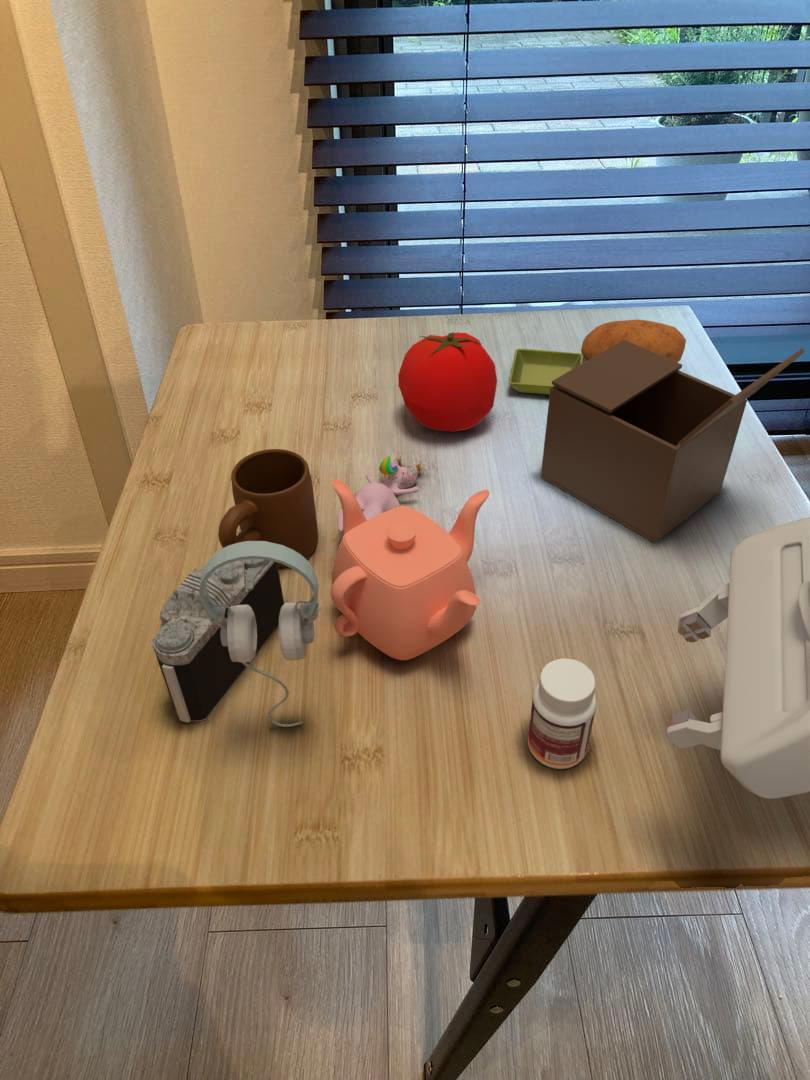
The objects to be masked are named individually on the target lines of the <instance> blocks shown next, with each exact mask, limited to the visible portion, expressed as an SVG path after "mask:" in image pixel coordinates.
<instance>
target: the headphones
mask: <svg viewBox="0 0 810 1080" xmlns="http://www.w3.org/2000/svg"><path fill="white" fill-rule="evenodd" d="M244 559H264V560H270V561H274V562H278V563H281V564H283V565H286V567H288V568H290V569H292V570H293V571H295V572H296V573H297V574H299V575H300V576H302V578H303V579H304V580H305V581H306V583H307V584H308V585H309V588H310V589H311V592H312V593H313V595H312V596H311V598H310V599H309V600H308V601H306V600H299V601H297V602H284V605H283V606H282V607H281V610H280V615H279V626H278V640H279V647H280V651H281V654H282V656H283V658H284V659H285V660H286V661H299V660H305V659H306V657H307V651H308V649H307V648H308V644H313V643H314V642H315V624H314V623H315V622H314V621H316V619H317V618H318V617H319V613H320V611H321V609H322V603H320V602H318V597H319V581H318V576H317V574H316V571H315V569H314V567H313V566H312V564H311V563H310V561H309V560H307V558H306V559H305V558H304V557H303V556H302V555H301V554H299V553H297V552H296V551H294V550H292V549H290V548H288V547H286V546H283V545H279V544H275V543H271V542H267V541H245V542H239V543H235V544H232V545H229V546H227V547H225V548H223V547H222V548H220V549H219V550H217V551H216V552H215V553H214V554H212V555H211V557H210V558H209V559H208V560H207V561H206V563H205V565H204V567H203V569H204V570H203V573H202V577H201V583H200V588H199V595H200V600H201V602H202V604H203V606H204V608H205V610H204V611H205V615H206V616H207V617H208V618H209V619H210V622H211V623H213V624H214V625H218V626H219V627H221V631H220V636H221V643H222V646H226V647H228V649H229V654H230V658H231V660H232V661H233V662H242V663H243V664H244V665H245V666H246V667H247V668H248V669H249V670H252V671H253V672H256V673H258V674H260V675H262V676H265V677H268V678H269V679H271V680H273V681H274V682H276V683H278V684H279V685H280V686H281V687H282V688H283V689H284V692H285V696H284V697H283V698H282V699H281V700H280V701H279V702H278V703H276V704H275V705H274V706H273V707H271V708H270V709H269V711H268V713H267V715H268V717H267V718H268V719H269V721H270V722H272V724H274V725H276V726H277V727H282V728H289V727H296V726H300V725H302V724H303V720H302V721H298V722H294V723H286V724H285V723H280V722H277V721H275V720H274V719H273V718H272V713H273V712H274V710H275V709H277V708H278V707H280V706H281V705H282V704H283V703H285V702H286V701H287V699H288V697H289V693H290V692H289V689H288V687H287V686H286V685H285V684H284V682H283V681H282V680H280V679H278V678H277V677H276V676H273V675H272V674H270V673H268V672H265V671H264V670H263V671H262V670H261V669H258V668H256V667H254V666H252V665H250V664H249V665H248V664H247V663H246V662H250V663H251V662H252V661H253V660H254V659H255V657H256V656H255V654H256V647H257V625H256V619H255V615H254V612H253V610H252V608H251V607H250V606H249V605H237V606H231V607H229V606H228V605H225V604H221V605H216V604H215V603H214V602H213V600H212V599H211V598H210V596H209V594H208V592H207V581H208V578H209V577H210V576H211V575H212V574H213V572H214V571H215V570H217V569H218V568H220V567H222V566H224V565H225V564H228V563H231V562H235V561H238V560H244ZM221 606H222V607H221ZM223 606H225V607H227V608H228V609H229V612H228V619H227V618H225V619H224V615H225V610H226V608H225V607H223ZM208 613H209V614H210V615H211V616H210V615H209V614H208ZM221 622H222V624H221ZM254 656H255V657H254ZM253 658H254V659H253Z"/></svg>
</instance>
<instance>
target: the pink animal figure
mask: <svg viewBox="0 0 810 1080" xmlns="http://www.w3.org/2000/svg"><path fill="white" fill-rule="evenodd" d="M401 457H402V454H400V455H399V457H398V458H397V457H396V458H394V459H393V462H391V455H388V456H386V457H384V458H383V460H382V461H381V462H380V464H379V468H378V469H379V472H380V473H381V474H382V475H383V476H384V481H383V482H378V481H376V480H374V479H373V477H372V475H371V473H367V474H365V478H366V480H367V481H368V483H367V484H365V485H363V486H362V487H361V488H360V489H359V490H357V491H356V492H355V494H354V496H355V498H356V499H357V501H358V504H359V506H360V508H361V510H362V512H363V514H364V516H365V518H366V520H369V519H371V518H373V517H375V516H377V515H379V514H381V513H384V512H386V511H388V510H391V509H393V508H396V507H399V506H401V504H400V502H399V500H398V499H397V497H396V496H398V495H407V494H412V493H417V492H419V491H420V488H419V487H418V486H414V485H415V484H416V482H417V480H418V475H421V473H422V474H424V471H423V467H422V464H421V461H422V460H421V459H420V460H419V462H418V463H415V464H414V465H413V466H412V467H408V466H404V465H403V461H402V458H401ZM336 523H337V524H336V525H337V531H338V532H343V511H342V506H341V507H340V509H339V510H338V512H337V519H336Z"/></svg>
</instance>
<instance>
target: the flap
mask: <svg viewBox="0 0 810 1080" xmlns="http://www.w3.org/2000/svg"><path fill="white" fill-rule="evenodd" d="M805 352H806V351H805V349H804V348H803V347H801V348H800V349H799V350H797V351H796V352H795V353H793V354H792V355H790V356H789V357H787V358H785V360H783V361H782V362H781V363H779V364H777V365H776V366H775V367H773V368H771V369H770V370H769V371H767V372H765V374H763V375H762V376H760V377H759V378H758V379H756V380H755V381H754V382H752V383H751V384H749V385H747V386H746V387H745V388H743V389H741V391H739V392H738V393H737V394H735V396H734V397H732V398H731V399H730V400H728V401H727V402H726V403H725V404H724V405H722V406H721V407H720V408H719V409H718V410H716V411H715V412H714V413H713V414H712V415H710V416H709V417H708V418H707V419H706V420H704V421H703V422H702V423H701V424H700V425H698V426H697V427H696V428H695V429H694V430H693V431H691V432H690V433H689V434H688V435H687V436H685V437H684V438H683V439H682V440H681V441H679V442H678V443H679V444H680V446H682V445H683V444H684V443H686V442H687V441H689V440H690V439H691V438H693V437H694V436H696V435H697V434H698V433H700V432H701V431H702V430H704V429H705V428H707V427H708V426H709V425H711V424H712V423H714V422H715V421H716V420H718V419H719V418H721V417H722V416H723V415H725V414H726V413H728V412H729V411H730V410H732V409H733V408H735V407H736V406H737V405H739V404H740V403H742V402H743V401H744V400H748V399H749V398H750V397H751V396H752V395H754V394H755V393H756V392H758V391H760V389H761V388H762V387H763V386H765V385H766V384H767V383H769V382H770V381H771V380H773V379H774V378H775V377H776V376H778V375H779V374H780V373H781V372H782V371H783V370H784V369H786V368H787V367H788V366H790V365H791V364H792V363H794V361H795V360H797V359H798V358H799V357H800V356H801V355H803V354H804V353H805Z"/></svg>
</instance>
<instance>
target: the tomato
mask: <svg viewBox="0 0 810 1080" xmlns="http://www.w3.org/2000/svg"><path fill="white" fill-rule="evenodd" d="M419 337H420V338H422V339H421V340H419V341H417V342H415V343H414V344H412V345H411V347H410V348H409V349H408V350H407V351H406V353H405V354H404V357H403V360H402V362H401V365H400V369H399V371H398V377H397V378H398V388H399V391H400V393H401V396H402V400H403V402H404V405H405V408H406V410H407V411H408V412H409V413H410V414H411V416H413V418H414V419H415V420H416V421H417V422H418V423H419V424H421V425H423V426H424V427H426V428H428V429H431V430H434V431H436V432H437V431H439V432H453V433H455V432H460V431H466V430H470V429H472V428H474V427H476V426H477V425H479V423H481V422H482V420H484V419H485V418H486V417H487V416H488V415H489V414H490V412H491V411H492V409H493V407H494V403H495V398H496V392H497V386H498V377H497V370H496V364H495V362H494V360H493V359H492V357H491V356H490V355H489V353H488V351H487V350H486V349H485V348H484V347H483V343H482V342H481V341H480V339H478V338H476V337H475V336H474V335H471V334H469V333H467V332H459V331H457V332H454V331H453V332H448V334H446V335H435V334H429V335H427V336H425V335H421V336H420V335H419Z"/></svg>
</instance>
